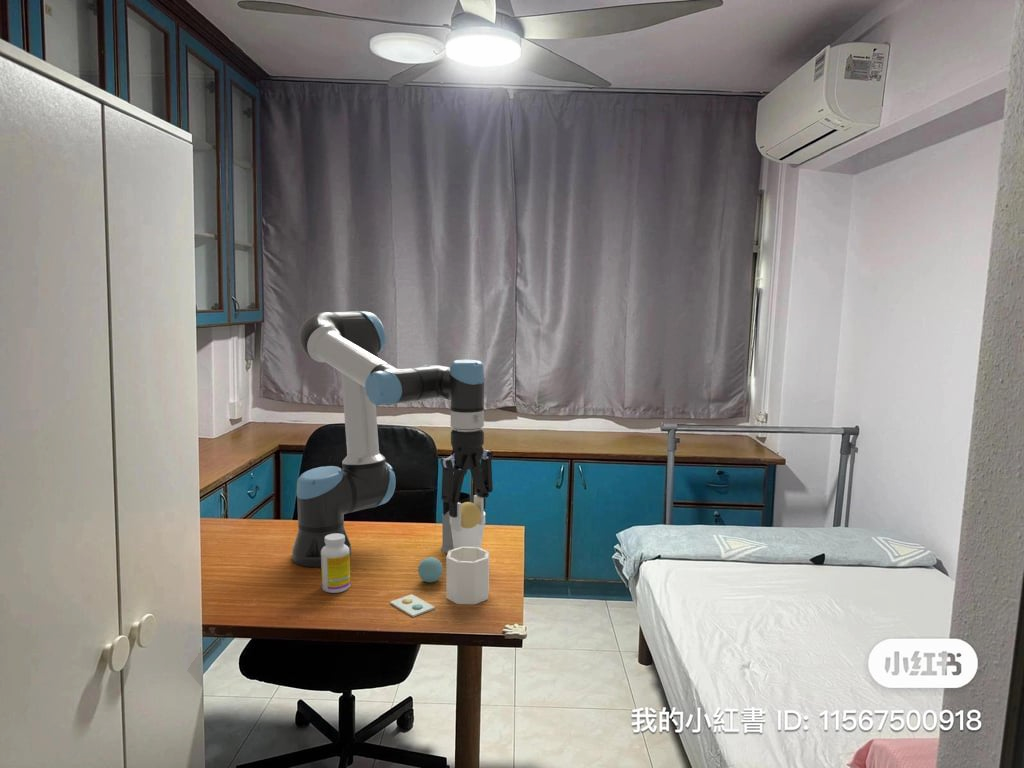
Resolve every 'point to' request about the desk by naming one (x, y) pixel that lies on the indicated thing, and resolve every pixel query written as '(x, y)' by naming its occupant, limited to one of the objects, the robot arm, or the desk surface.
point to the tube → (467, 575)
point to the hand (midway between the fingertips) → (467, 526)
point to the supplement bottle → (335, 564)
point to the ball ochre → (470, 515)
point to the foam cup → (468, 536)
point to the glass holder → (446, 527)
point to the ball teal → (430, 569)
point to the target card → (412, 605)
